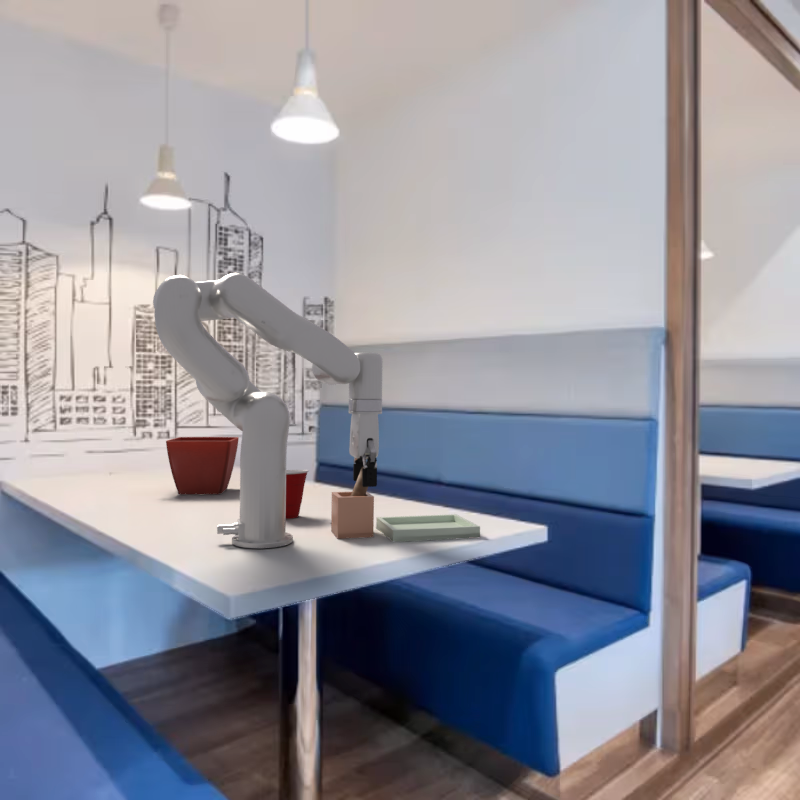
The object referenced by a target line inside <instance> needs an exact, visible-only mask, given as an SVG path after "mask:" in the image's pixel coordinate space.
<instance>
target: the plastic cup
mask: <svg viewBox="0 0 800 800" xmlns="http://www.w3.org/2000/svg"><path fill="white" fill-rule="evenodd" d="M309 471H310V470H309V469H286V520H287V519H296V518H299V515H300V512H301V505H302V502H303V496H304V489H305V483H306V479H307V476H308V472H309Z"/></svg>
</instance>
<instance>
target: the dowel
mask: <svg viewBox="0 0 800 800" xmlns="http://www.w3.org/2000/svg"><path fill="white" fill-rule="evenodd" d="M362 468H364V467H362ZM362 468H361V471H360V473H359V476H358V478H357V481H355V484H354V486H353V489H352V491H351V492H352V494H351V496H365V494H366V492H368V489H369V487H363V486H362Z"/></svg>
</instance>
